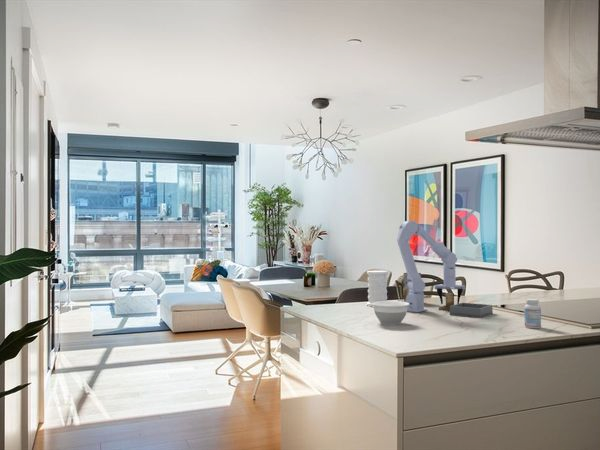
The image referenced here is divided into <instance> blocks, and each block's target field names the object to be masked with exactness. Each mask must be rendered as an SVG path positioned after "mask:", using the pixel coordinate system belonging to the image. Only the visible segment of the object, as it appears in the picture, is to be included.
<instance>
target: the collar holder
mask: <svg viewBox="0 0 600 450" xmlns="http://www.w3.org/2000/svg"><path fill="white" fill-rule="evenodd" d="M438 310H439V311H446V312H447V311H448V312H450V307H446V304H445V305H441V306H438Z"/></svg>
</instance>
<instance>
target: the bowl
mask: <svg viewBox="0 0 600 450" xmlns="http://www.w3.org/2000/svg"><path fill="white" fill-rule="evenodd" d="M372 305H373V306H374V307H373V311H374V315H375V316H376V318H377V319H378V320H379V322H380V324H381V325H384V326H399V325H401V324H402V322H403V320H404V319H405V318H406V315H407V313H408V311H407V306H408V305H409V303H407V302H404V301H400V300H398V301H397V300H387V301H379V302H373V303H372Z"/></svg>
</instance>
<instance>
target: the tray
mask: <svg viewBox="0 0 600 450" xmlns="http://www.w3.org/2000/svg"><path fill="white" fill-rule="evenodd" d="M493 313H494V312H493V304H485V303H471V302H459V304H457V303H456V304H454V305H452V306H450V311H449V316H459V317H468V318H469V317H470V318H479V319H480V318H484V317H486V316H489V315H493Z"/></svg>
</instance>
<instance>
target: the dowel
mask: <svg viewBox="0 0 600 450" xmlns="http://www.w3.org/2000/svg"><path fill="white" fill-rule="evenodd" d="M445 305H446V307H450V306H452V305H455V293H453V292H446V293H445Z"/></svg>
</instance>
